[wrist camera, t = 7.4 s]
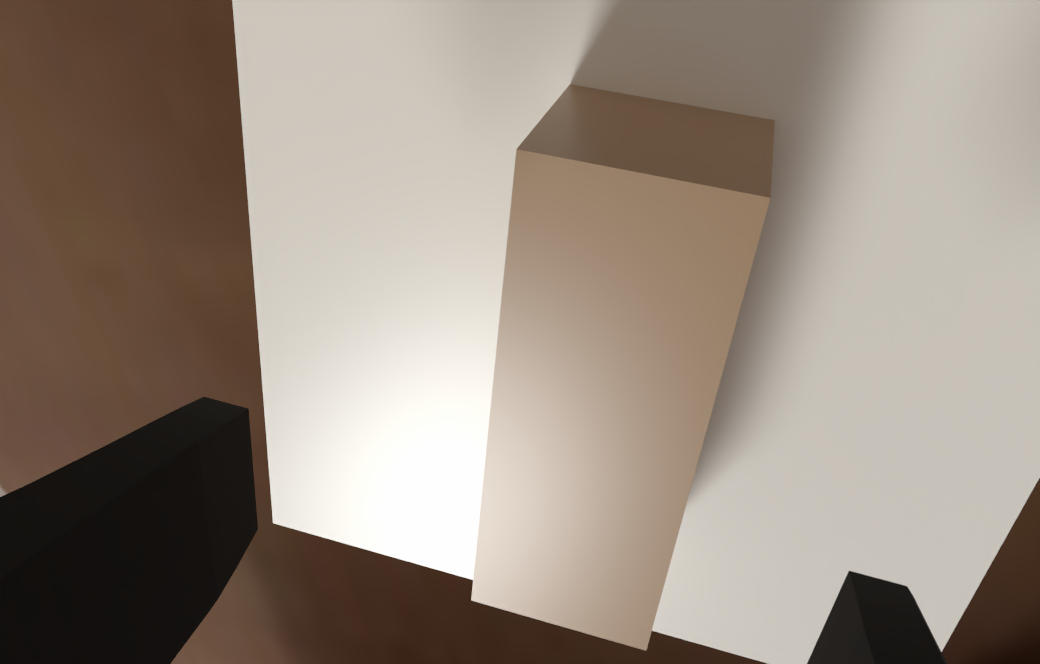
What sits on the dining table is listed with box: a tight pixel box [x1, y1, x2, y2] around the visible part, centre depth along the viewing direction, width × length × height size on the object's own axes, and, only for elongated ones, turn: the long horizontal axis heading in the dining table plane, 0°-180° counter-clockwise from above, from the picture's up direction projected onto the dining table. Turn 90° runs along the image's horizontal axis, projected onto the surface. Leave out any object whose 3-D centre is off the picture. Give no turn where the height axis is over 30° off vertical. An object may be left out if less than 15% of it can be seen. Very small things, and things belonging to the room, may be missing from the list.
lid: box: [232, 0, 1040, 664], centre depth 14 cm, size 14×14×4 cm
